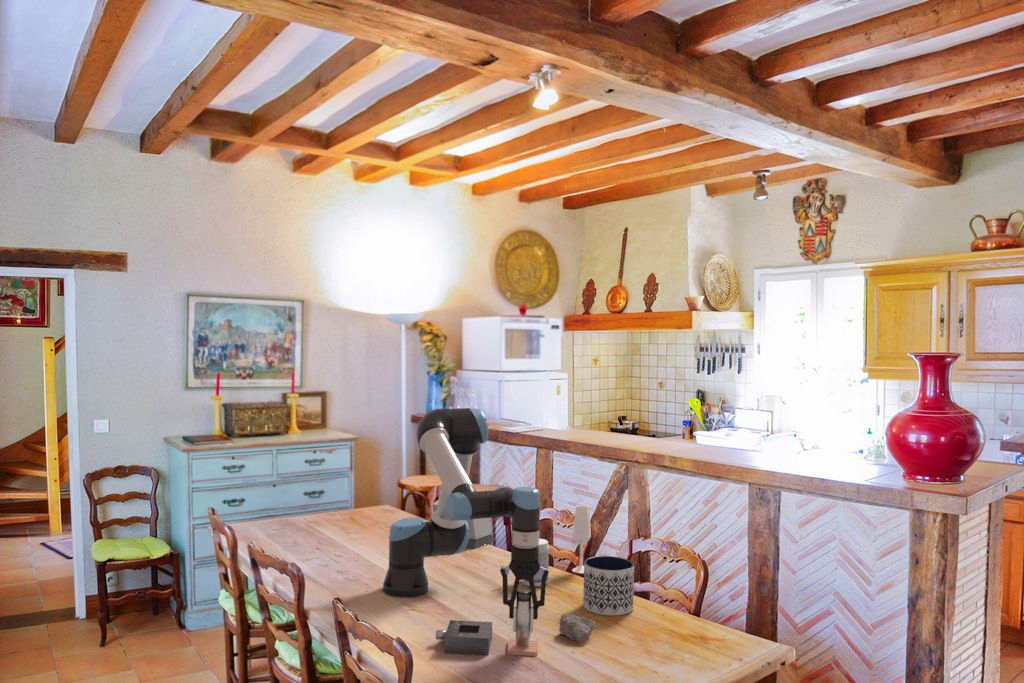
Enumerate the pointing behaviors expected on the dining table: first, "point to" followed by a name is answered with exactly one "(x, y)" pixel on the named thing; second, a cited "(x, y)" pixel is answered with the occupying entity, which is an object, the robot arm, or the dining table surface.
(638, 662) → the dining table surface
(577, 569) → the champagne flute
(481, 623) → the block
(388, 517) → the dining table surface
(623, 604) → the planter
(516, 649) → the coaster
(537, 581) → the supplement tub
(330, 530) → the dining table surface
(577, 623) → the stone
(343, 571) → the dining table surface
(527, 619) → the grey tall cylinder
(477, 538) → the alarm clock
